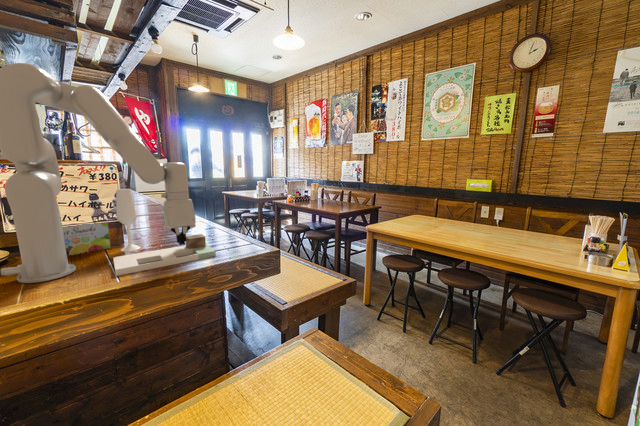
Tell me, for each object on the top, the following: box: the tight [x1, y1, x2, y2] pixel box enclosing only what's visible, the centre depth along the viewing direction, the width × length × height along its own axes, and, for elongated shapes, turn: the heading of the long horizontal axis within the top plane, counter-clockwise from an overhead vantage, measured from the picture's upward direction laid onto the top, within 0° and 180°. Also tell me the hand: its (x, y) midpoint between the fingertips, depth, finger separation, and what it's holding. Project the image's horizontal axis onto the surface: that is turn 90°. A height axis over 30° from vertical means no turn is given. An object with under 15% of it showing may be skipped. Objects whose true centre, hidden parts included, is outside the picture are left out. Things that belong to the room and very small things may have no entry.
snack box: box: [62, 223, 111, 257], centre depth 100 cm, size 21×6×15 cm, turn 143°
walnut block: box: [185, 233, 207, 249], centre depth 105 cm, size 6×5×4 cm
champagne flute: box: [115, 188, 142, 252], centre depth 105 cm, size 7×7×24 cm
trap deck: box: [112, 243, 217, 277], centre depth 96 cm, size 30×14×2 cm, turn 129°
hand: (181, 243), depth 102 cm, fingers closed
